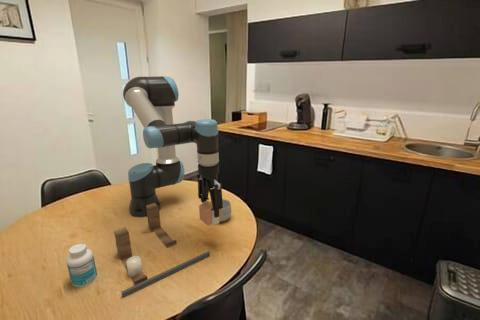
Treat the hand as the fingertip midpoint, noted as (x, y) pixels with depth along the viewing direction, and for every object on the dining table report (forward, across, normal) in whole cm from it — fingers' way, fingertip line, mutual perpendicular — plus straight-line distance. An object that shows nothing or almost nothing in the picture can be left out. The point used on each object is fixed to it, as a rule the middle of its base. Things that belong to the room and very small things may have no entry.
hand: (210, 220), depth 101 cm
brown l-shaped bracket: (+12, -7, -29) cm, 32 cm away
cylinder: (+11, -3, -29) cm, 31 cm away
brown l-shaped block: (+12, -19, -13) cm, 26 cm away
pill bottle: (+12, -10, -43) cm, 46 cm away
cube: (0, 0, 0) cm, 0 cm away
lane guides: (+12, -6, -20) cm, 24 cm away
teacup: (+12, -17, +16) cm, 27 cm away
